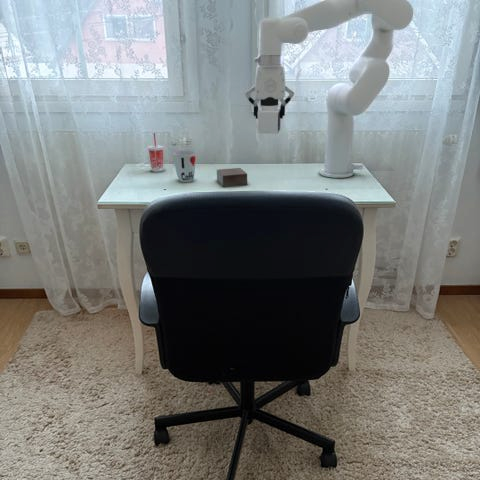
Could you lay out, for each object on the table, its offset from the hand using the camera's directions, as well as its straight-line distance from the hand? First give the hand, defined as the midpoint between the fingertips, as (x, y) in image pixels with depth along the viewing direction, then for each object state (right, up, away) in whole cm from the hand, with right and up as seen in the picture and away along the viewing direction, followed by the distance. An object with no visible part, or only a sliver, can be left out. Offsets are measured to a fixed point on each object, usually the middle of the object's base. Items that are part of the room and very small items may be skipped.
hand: (269, 118), depth 177 cm
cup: (-30, -18, +14) cm, 38 cm away
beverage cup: (-43, -10, +26) cm, 51 cm away
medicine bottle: (0, -4, +2) cm, 5 cm away
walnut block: (-13, -20, +10) cm, 26 cm away
